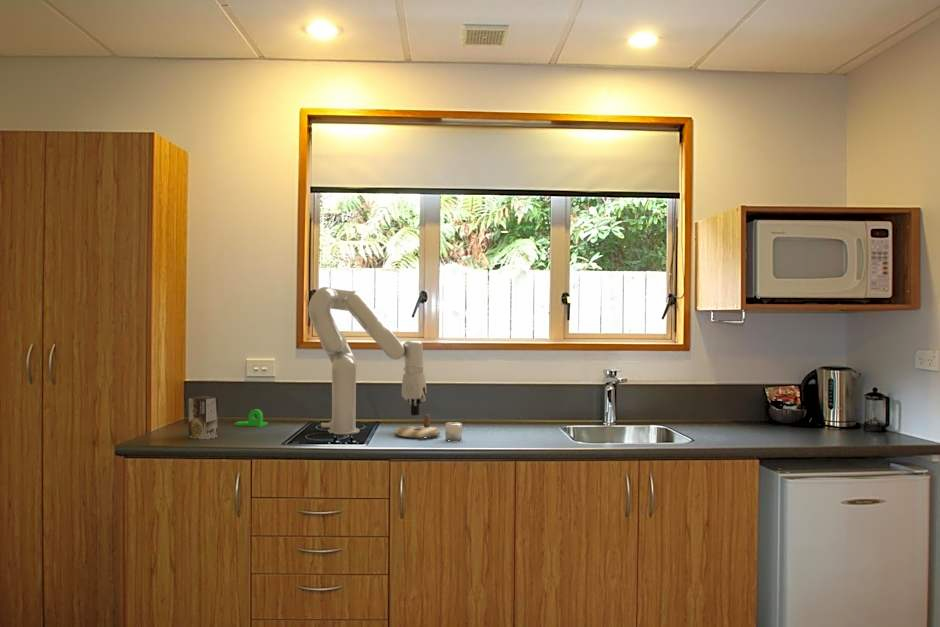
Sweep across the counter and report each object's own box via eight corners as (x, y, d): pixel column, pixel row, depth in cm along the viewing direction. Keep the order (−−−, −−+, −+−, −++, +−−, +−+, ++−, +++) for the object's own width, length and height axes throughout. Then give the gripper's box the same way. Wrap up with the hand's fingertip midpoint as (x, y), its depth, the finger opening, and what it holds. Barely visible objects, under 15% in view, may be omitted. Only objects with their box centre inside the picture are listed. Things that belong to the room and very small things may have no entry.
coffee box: (218, 438, 275) (218, 397, 275) (205, 441, 269) (206, 398, 269) (200, 437, 279) (201, 395, 279) (187, 439, 273) (188, 397, 273)
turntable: (393, 437, 275) (394, 420, 275) (395, 429, 293) (395, 413, 293) (440, 437, 276) (440, 420, 276) (439, 429, 294) (439, 413, 294)
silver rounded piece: (445, 441, 273) (445, 424, 273) (445, 438, 280) (445, 421, 279) (462, 441, 274) (462, 424, 273) (461, 438, 280) (461, 421, 280)
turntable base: (401, 438, 278) (401, 436, 278) (402, 433, 290) (402, 431, 290) (432, 438, 279) (432, 436, 279) (432, 433, 291) (432, 431, 291)
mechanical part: (267, 426, 306) (267, 408, 306) (260, 428, 301) (260, 409, 301) (242, 425, 309) (242, 407, 309) (234, 427, 303) (234, 408, 303)
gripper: (394, 370, 295) (395, 415, 296) (422, 371, 287) (423, 417, 287) (406, 369, 302) (407, 412, 302) (433, 370, 293) (435, 415, 293)
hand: (415, 414), depth 294 cm, fingers closed
